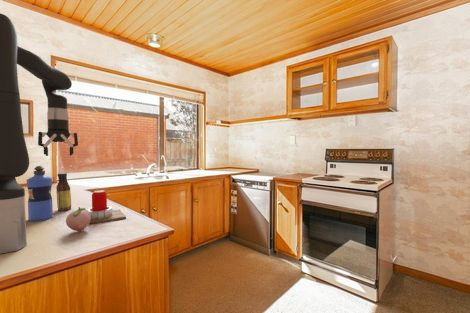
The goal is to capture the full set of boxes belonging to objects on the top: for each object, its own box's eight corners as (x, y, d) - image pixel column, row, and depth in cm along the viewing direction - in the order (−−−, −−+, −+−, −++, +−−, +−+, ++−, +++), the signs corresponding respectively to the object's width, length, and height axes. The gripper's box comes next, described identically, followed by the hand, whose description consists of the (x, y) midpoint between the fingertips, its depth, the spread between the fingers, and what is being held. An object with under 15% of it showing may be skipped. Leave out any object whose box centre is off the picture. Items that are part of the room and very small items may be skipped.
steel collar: (113, 216, 113) (113, 209, 113) (87, 220, 107) (87, 213, 107) (110, 212, 121) (110, 205, 121) (86, 215, 115) (86, 208, 115)
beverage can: (90, 218, 110) (89, 192, 110) (94, 214, 116) (93, 190, 116) (105, 217, 112) (104, 192, 111) (108, 213, 118) (107, 189, 117)
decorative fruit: (70, 229, 99) (69, 205, 98) (93, 227, 102) (92, 203, 101) (63, 237, 90) (62, 211, 90) (88, 234, 93) (87, 209, 93)
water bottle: (31, 222, 107) (29, 167, 106) (25, 219, 113) (23, 166, 112) (56, 217, 115) (54, 165, 114) (49, 214, 120) (48, 165, 119)
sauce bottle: (74, 208, 132) (73, 172, 132) (65, 211, 126) (64, 174, 125) (63, 208, 133) (62, 172, 132) (53, 211, 127) (52, 173, 126)
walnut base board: (126, 218, 113) (125, 216, 113) (75, 226, 102) (75, 224, 102) (119, 211, 126) (119, 209, 126) (74, 217, 115) (74, 215, 115)
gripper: (36, 117, 99) (37, 156, 100) (77, 119, 107) (78, 155, 108) (38, 119, 105) (39, 155, 106) (77, 121, 113) (77, 155, 114)
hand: (59, 155), depth 107 cm, fingers open, 8 cm apart
